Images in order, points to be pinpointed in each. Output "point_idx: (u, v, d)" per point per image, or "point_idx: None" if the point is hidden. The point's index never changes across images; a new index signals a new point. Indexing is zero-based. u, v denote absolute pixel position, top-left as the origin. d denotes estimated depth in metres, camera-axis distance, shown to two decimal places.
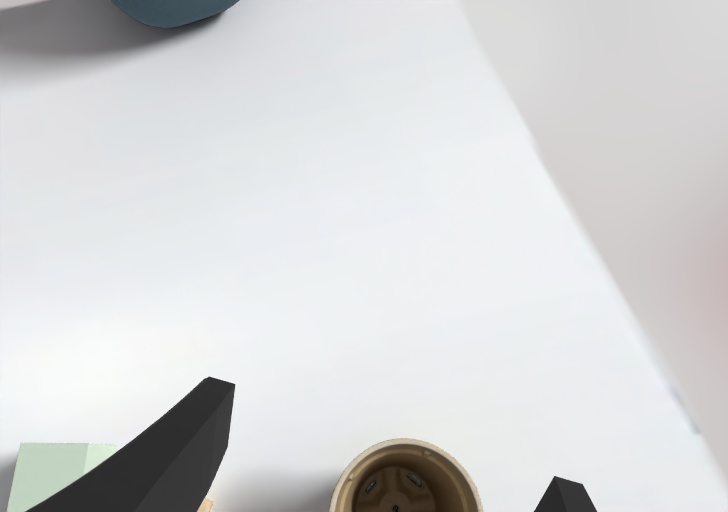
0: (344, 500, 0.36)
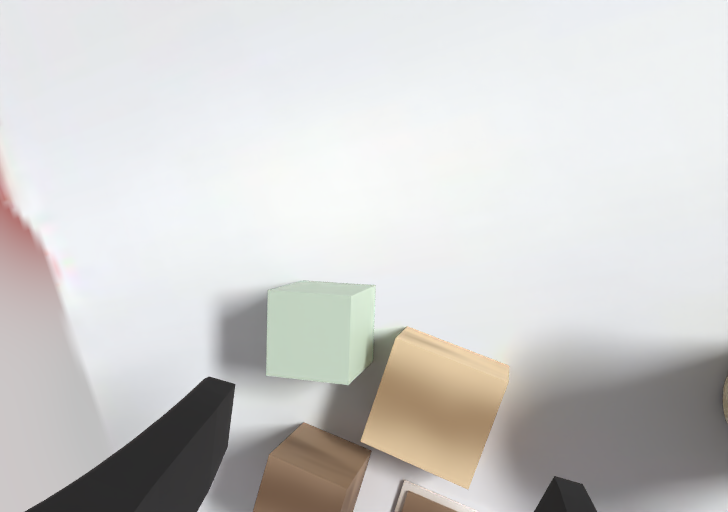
0: None
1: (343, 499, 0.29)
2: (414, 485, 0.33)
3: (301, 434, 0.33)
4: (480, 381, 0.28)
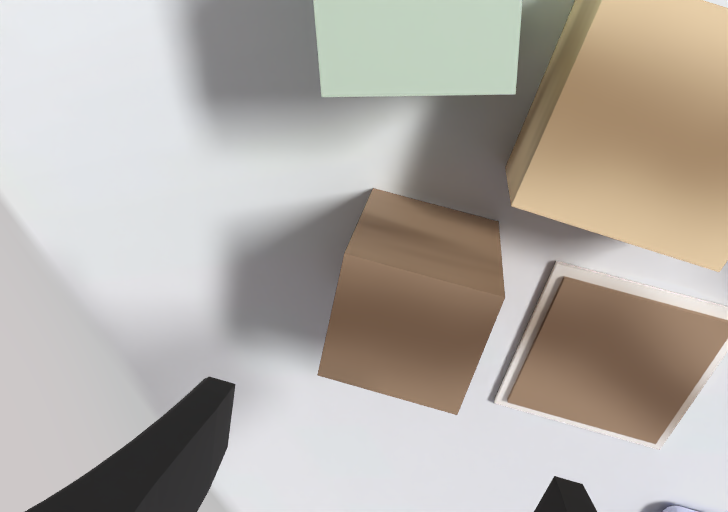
0: None
1: (496, 314, 0.15)
2: (572, 267, 0.20)
3: (379, 209, 0.18)
4: None
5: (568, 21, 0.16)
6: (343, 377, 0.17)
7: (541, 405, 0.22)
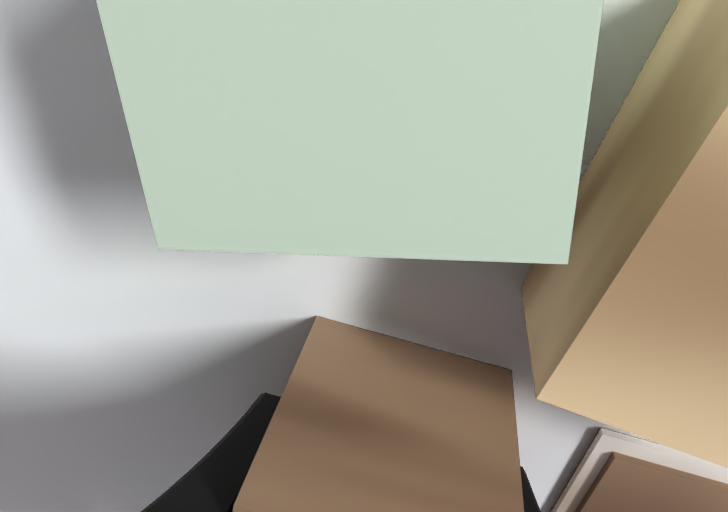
0: None
1: None
2: (625, 438, 0.13)
3: (319, 368, 0.11)
4: None
5: (651, 66, 0.09)
6: None
7: None
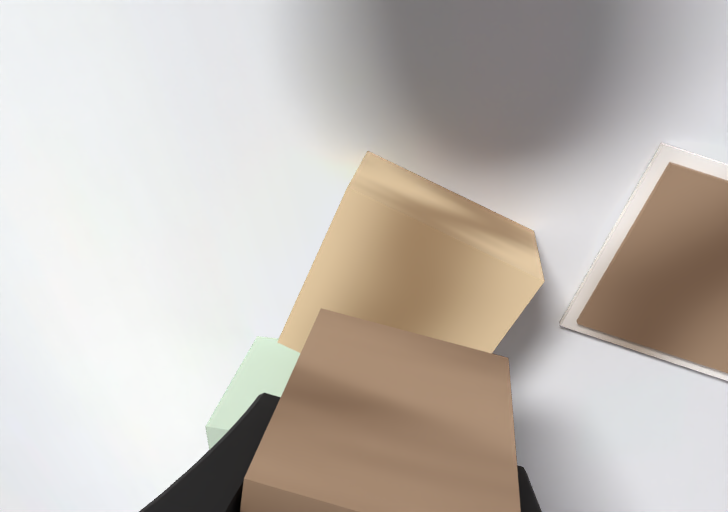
0: None
1: None
2: (569, 309, 0.19)
3: (323, 356, 0.12)
4: (346, 231, 0.16)
5: None
6: None
7: None
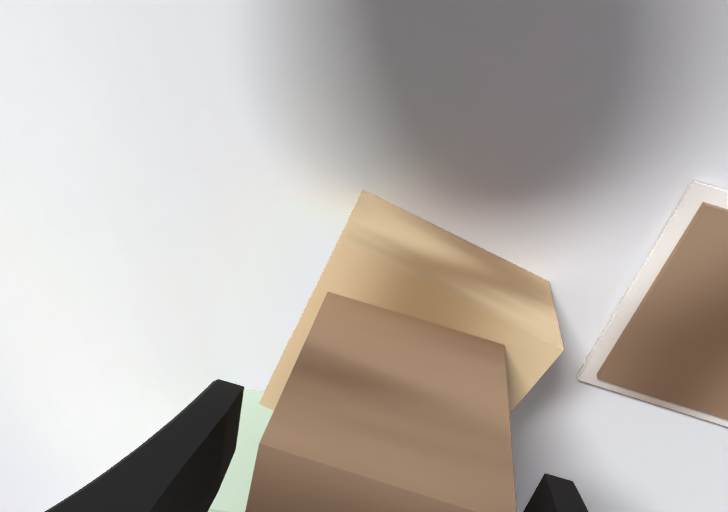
0: None
1: None
2: (588, 362, 0.17)
3: (330, 335, 0.12)
4: (337, 289, 0.14)
5: None
6: None
7: None
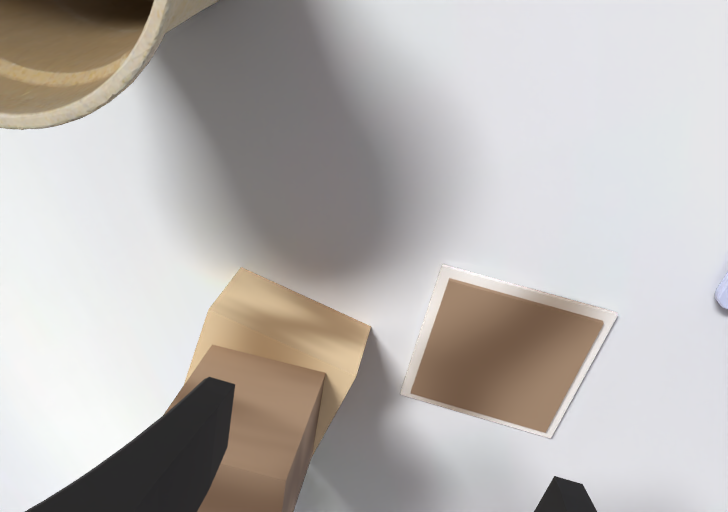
0: (30, 69, 0.14)
1: (283, 493, 0.17)
2: (405, 381, 0.25)
3: (205, 375, 0.20)
4: (212, 339, 0.21)
5: None
6: None
7: (549, 409, 0.23)
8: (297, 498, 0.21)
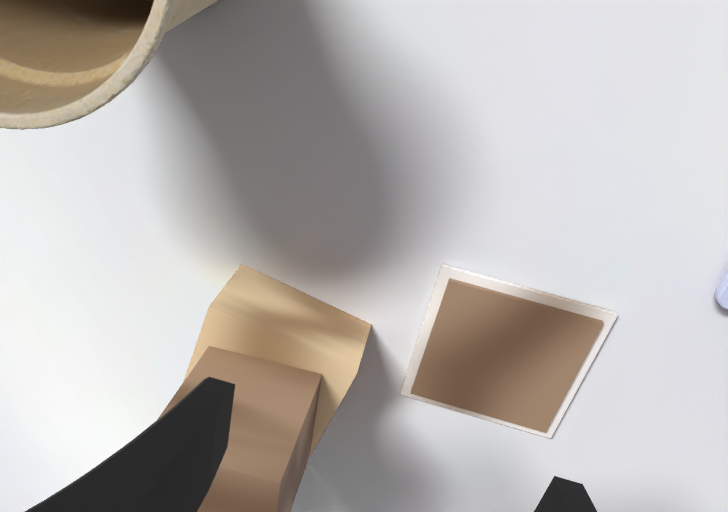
0: (30, 69, 0.14)
1: (278, 495, 0.17)
2: (405, 381, 0.25)
3: (202, 376, 0.20)
4: (212, 335, 0.21)
5: None
6: None
7: (549, 409, 0.23)
8: (294, 498, 0.21)
